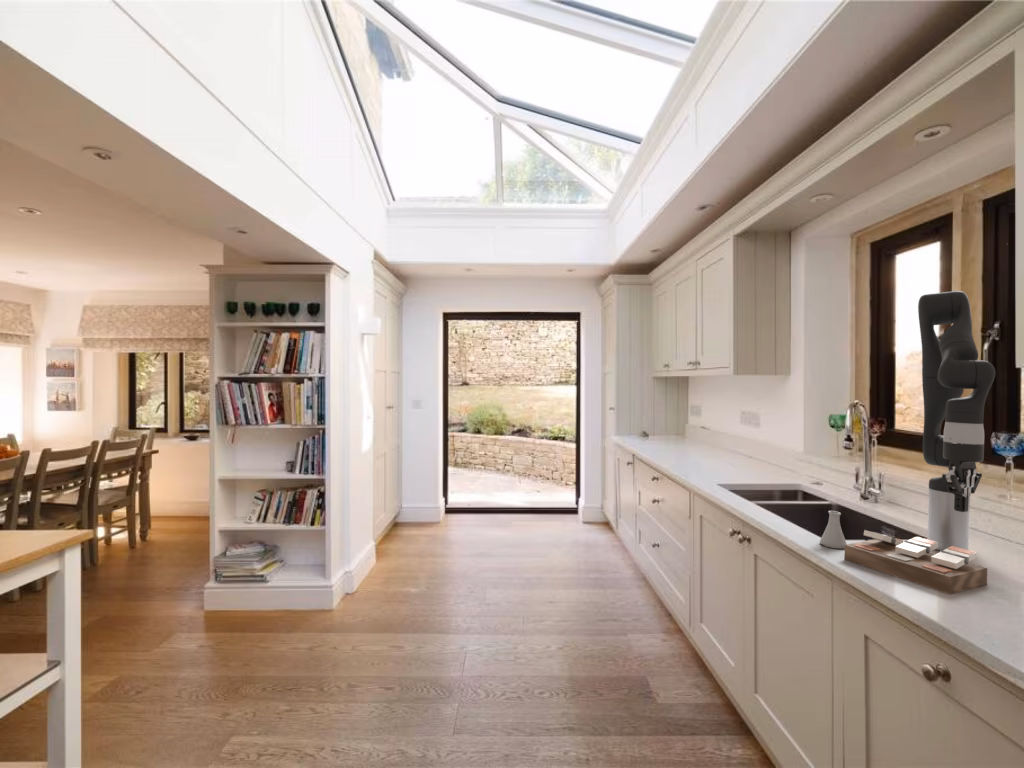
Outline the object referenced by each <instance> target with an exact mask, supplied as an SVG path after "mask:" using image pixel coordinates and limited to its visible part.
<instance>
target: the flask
mask: <svg viewBox="0 0 1024 768" xmlns="http://www.w3.org/2000/svg"><path fill="white" fill-rule="evenodd" d="M827 512H828V514H829V516H828V523H827V525H826V527H825V530H824V531H823V534H822V535H821V538H820V540H819V544H820V545H823V546H824V547H826V548H831V549H838V550H839V549H840V550H845V545H847V544H848V543H847V542H846V538H845V535H844V532H843V530H842V527H841V522H840V521H841V519H840V518H841V515H842V513H841V512H840V511H836V510H828V511H827Z"/></svg>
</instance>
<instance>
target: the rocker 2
mask: <svg viewBox="0 0 1024 768" xmlns="http://www.w3.org/2000/svg"><path fill="white" fill-rule="evenodd" d="M895 548H896V552H899V553H902V554H906V555H909V556H913V557H916V558H919V557H921V556H923V555H925V554H929V553H930V552H932V551H934V550H937V549H936V548H938V542H935V541H932V540H928V539H927V538H923V537H920V536H914V537H912V538H910V539H908V540H903V543H902V544H899V545H897V546H895Z"/></svg>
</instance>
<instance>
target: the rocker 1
mask: <svg viewBox="0 0 1024 768" xmlns="http://www.w3.org/2000/svg"><path fill="white" fill-rule="evenodd" d="M863 536H865V537H869V538H871V539H872V540H875V539H877V540H880V541H884V542H888V543H891V544H897V545H899V544H902V543H904V540H903V539H900V538H897V537H894V536H891V535H887V534H882V533H880V532H876V531H869V530H866V529H864V531H863Z"/></svg>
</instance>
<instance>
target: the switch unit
mask: <svg viewBox="0 0 1024 768" xmlns="http://www.w3.org/2000/svg"><path fill="white" fill-rule="evenodd" d="M846 544H847V545H845V549H844V560H845V561H848V562H851V563H853V564H854V563H855V564H857V565H860V566H862V567H866V568H869V569H871V570H875V571H879V572H881V573H884V574H888V575H891V576H894V577H896V578H898V579H902V580H905V581H908V582H912V583H915V584H916V585H917V584H918V585H921V586H922V587H926V588H930V589H932V590H934V591H938V592H941V593H944V594H947V595H953V594H956V593H959V592H960V593H961V592H964V591H966V590H971V589H975V588H979V587H982V586H986V585H987V584H988V567H985V566H982V565H980V564H974V563H972V562H971V563H970V562H969V563H968V564H967V565H966V564H965V565H963V566H961V567H959V568H957V569H954V568H950V567H947V566H944V565H940V564H937V563H933V562H932V561H931V556H933V555H935V554H936V553H935V552H932V551H930V553H929V554H925V555H923V556H921V557H919V558H916V557H913V556H909V555H906V554H902V553H899V552H896V548H895V546H897V544H891V543H888V542H884V541H880V540H877V539H871V540H867V541H859V542H854V543H846Z"/></svg>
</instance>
